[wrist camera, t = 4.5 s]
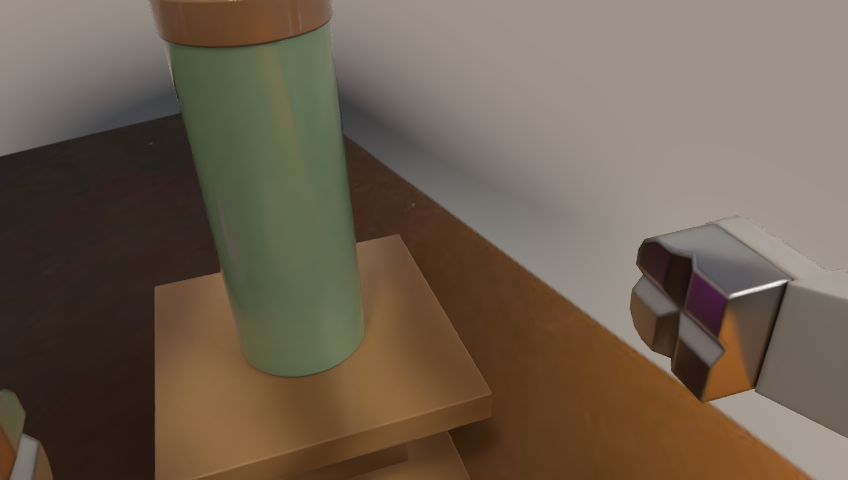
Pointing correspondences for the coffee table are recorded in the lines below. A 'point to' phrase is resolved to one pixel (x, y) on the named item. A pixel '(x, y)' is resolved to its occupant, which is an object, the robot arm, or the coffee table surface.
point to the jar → (271, 172)
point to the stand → (316, 388)
